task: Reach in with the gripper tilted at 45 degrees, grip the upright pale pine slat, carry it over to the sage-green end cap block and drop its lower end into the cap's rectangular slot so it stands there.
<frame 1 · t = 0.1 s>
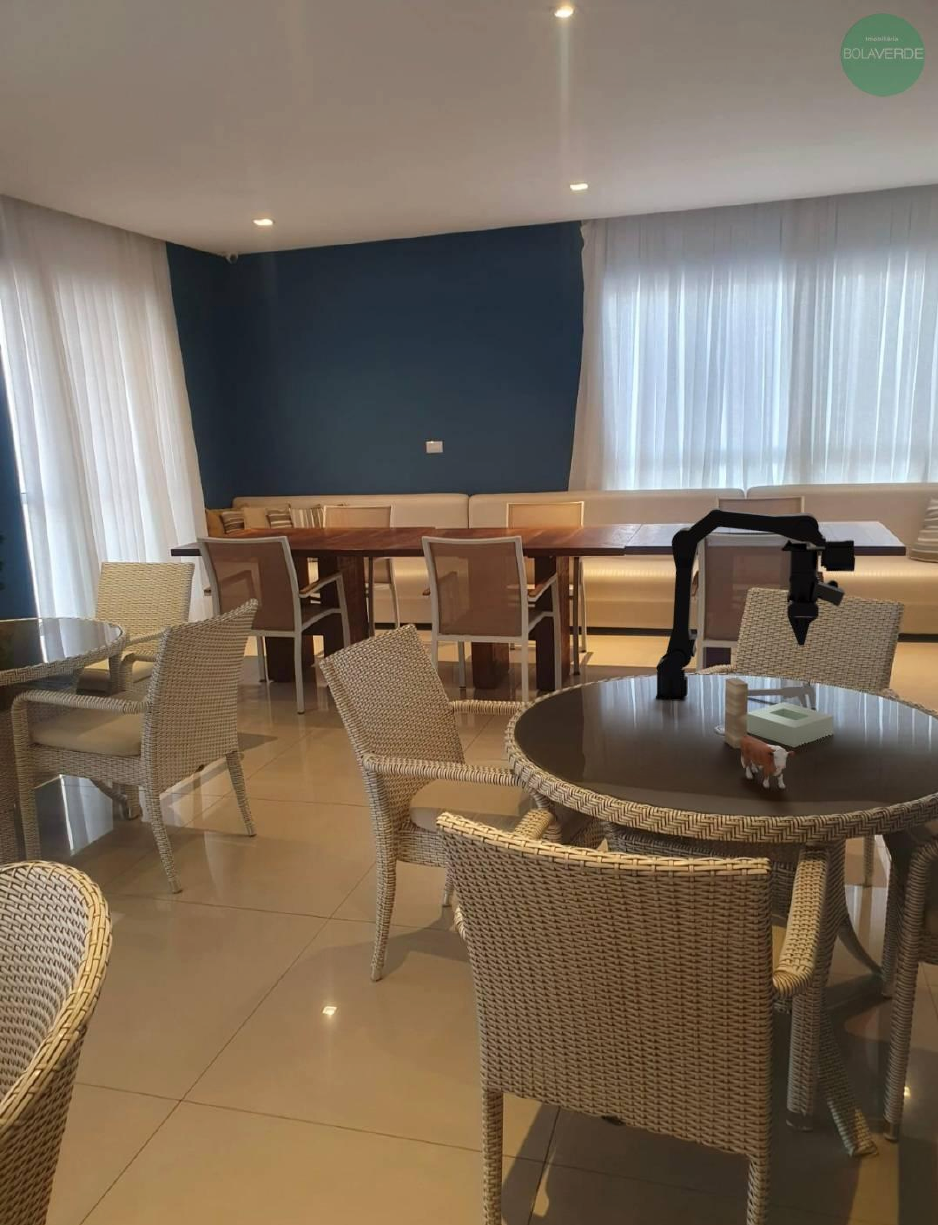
hand: (801, 640, 194), 15 cm above the table, tool pointing down, fingers open, 9 cm apart
bull figurine: (765, 784, 154), on the table
slat: (735, 744, 173), on the table
end cap: (788, 733, 178), on the table
caliper: (769, 702, 200), on the table
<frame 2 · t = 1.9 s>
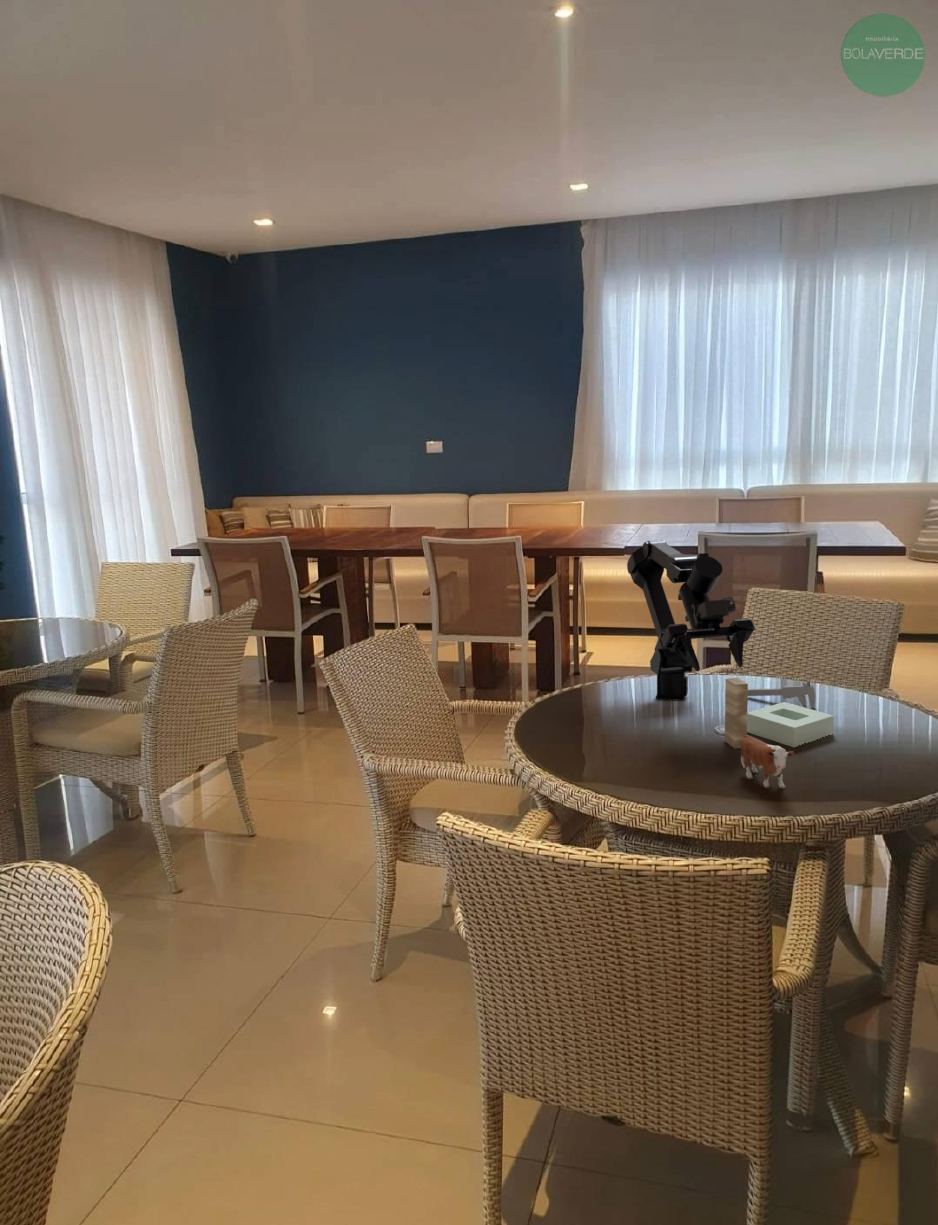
hand: (719, 668, 179), 13 cm above the table, tool tilted 45°, fingers open, 9 cm apart
nothing on the table moved.
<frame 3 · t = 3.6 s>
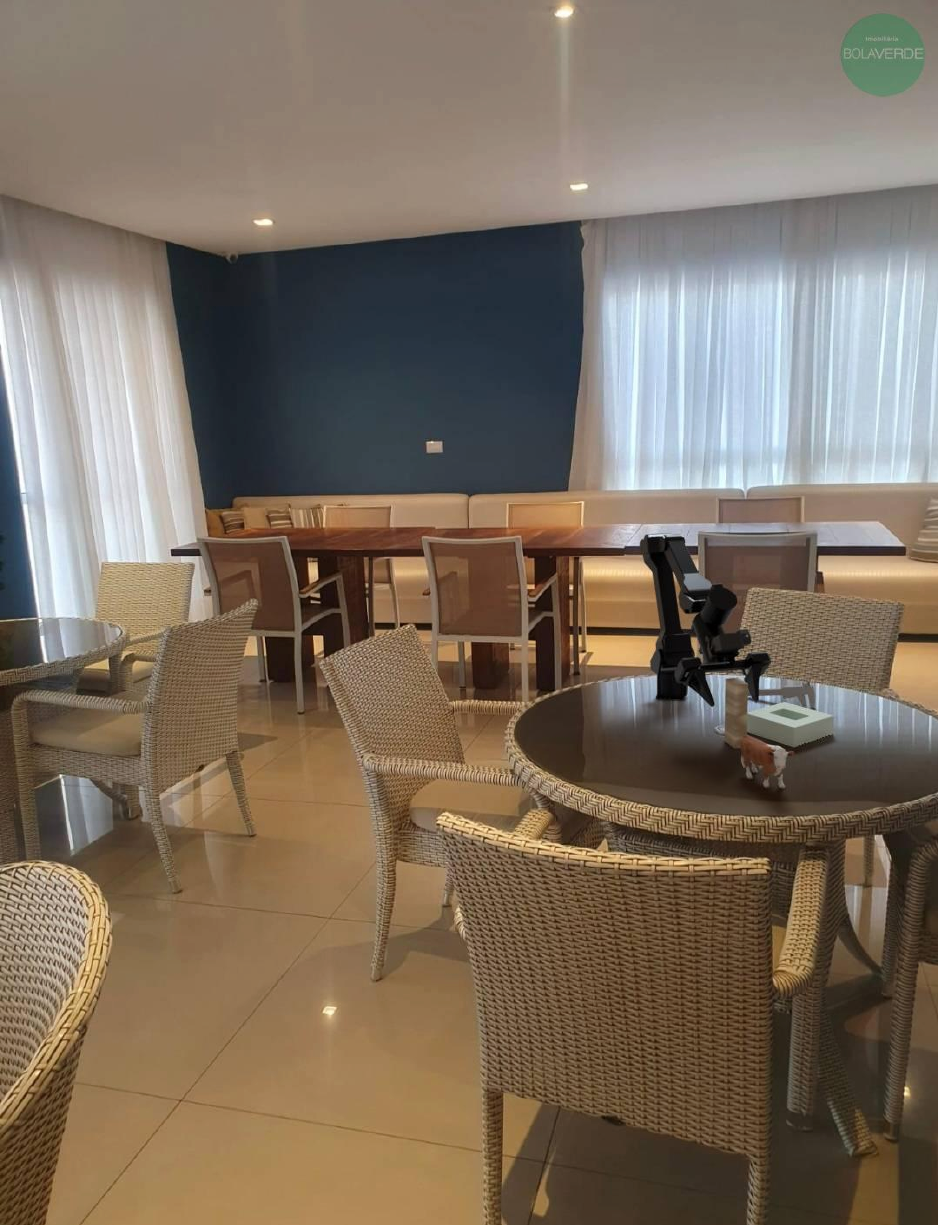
hand: (735, 703, 172), 8 cm above the table, tool tilted 45°, fingers open, 9 cm apart
nothing on the table moved.
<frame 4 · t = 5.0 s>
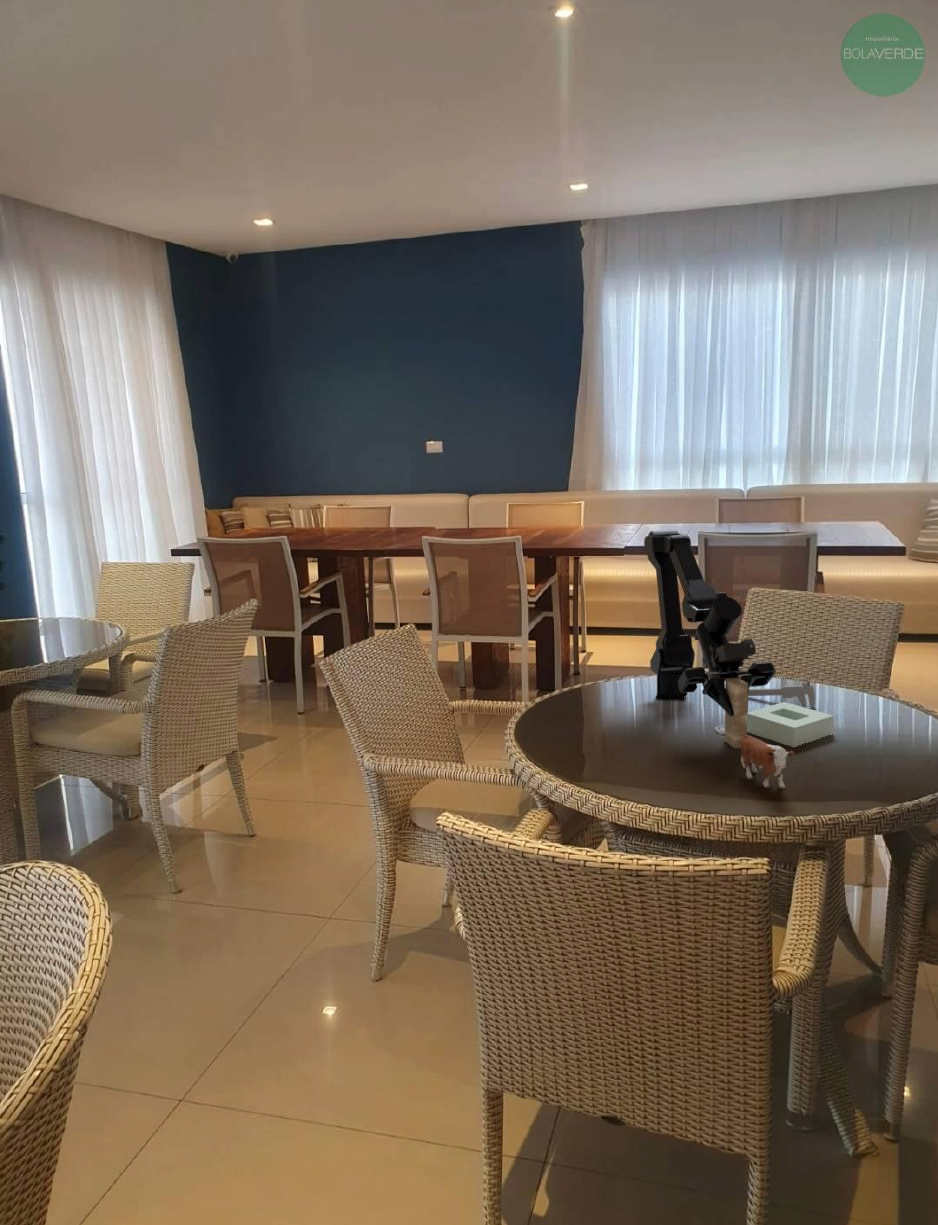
hand: (739, 714, 171), 7 cm above the table, tool tilted 45°, fingers closed on slat, 2 cm apart
slat: (735, 744, 173), on the table, touching gripper
everything else where it was.
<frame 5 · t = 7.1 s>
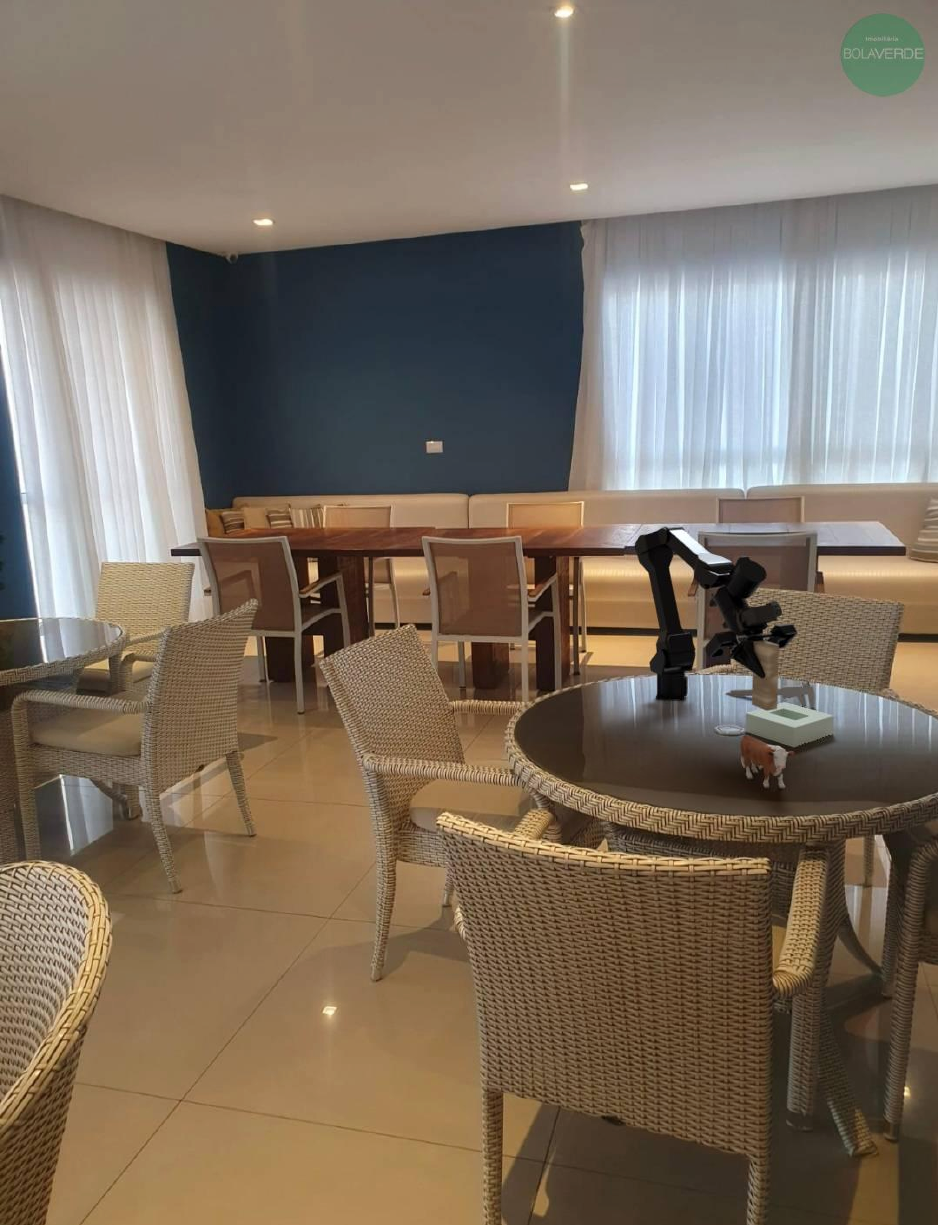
hand: (769, 676, 171), 13 cm above the table, tool tilted 45°, fingers closed on slat, 2 cm apart
slat: (764, 706, 174), point 7 cm above the table, touching gripper
everything else where it was.
when the fingers open (9 cm above the table, at t = 9.0 s): slat drops 1 cm, resting on end cap.
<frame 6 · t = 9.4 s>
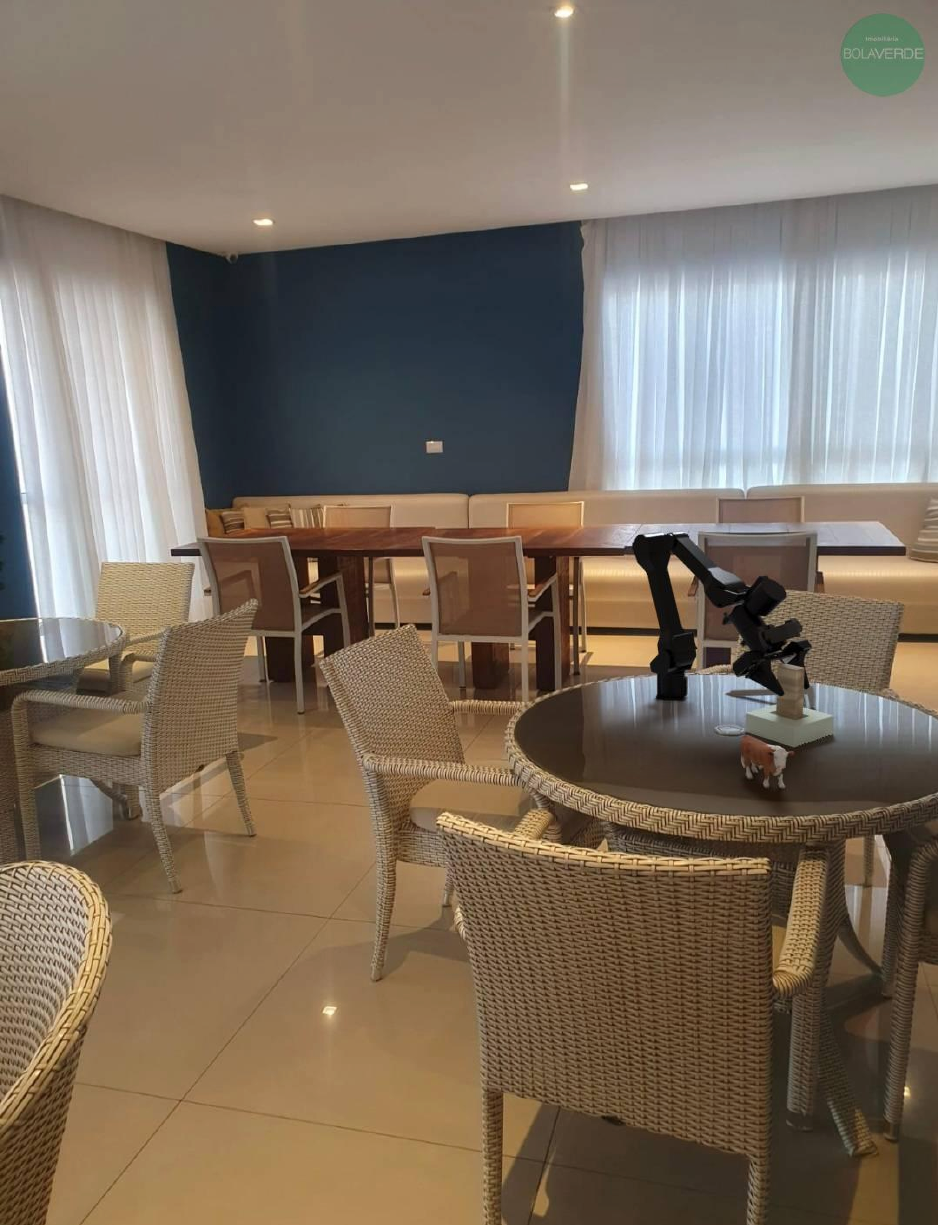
hand: (795, 691, 175), 9 cm above the table, tool tilted 45°, fingers open, 7 cm apart
slat: (788, 728, 178), point 1 cm above the table, touching end cap
everything else where it was.
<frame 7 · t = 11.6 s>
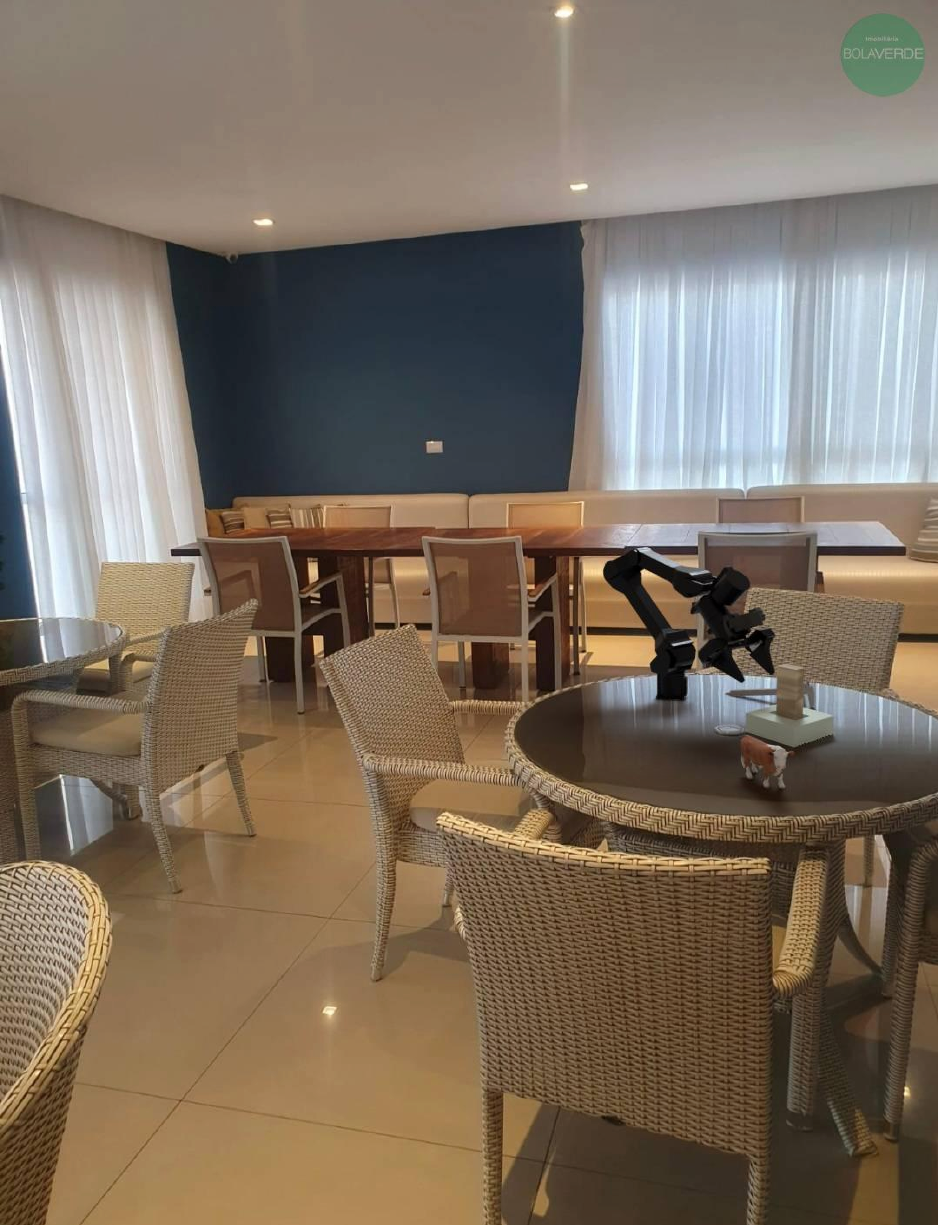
hand: (758, 678, 183), 10 cm above the table, tool tilted 45°, fingers open, 9 cm apart
nothing on the table moved.
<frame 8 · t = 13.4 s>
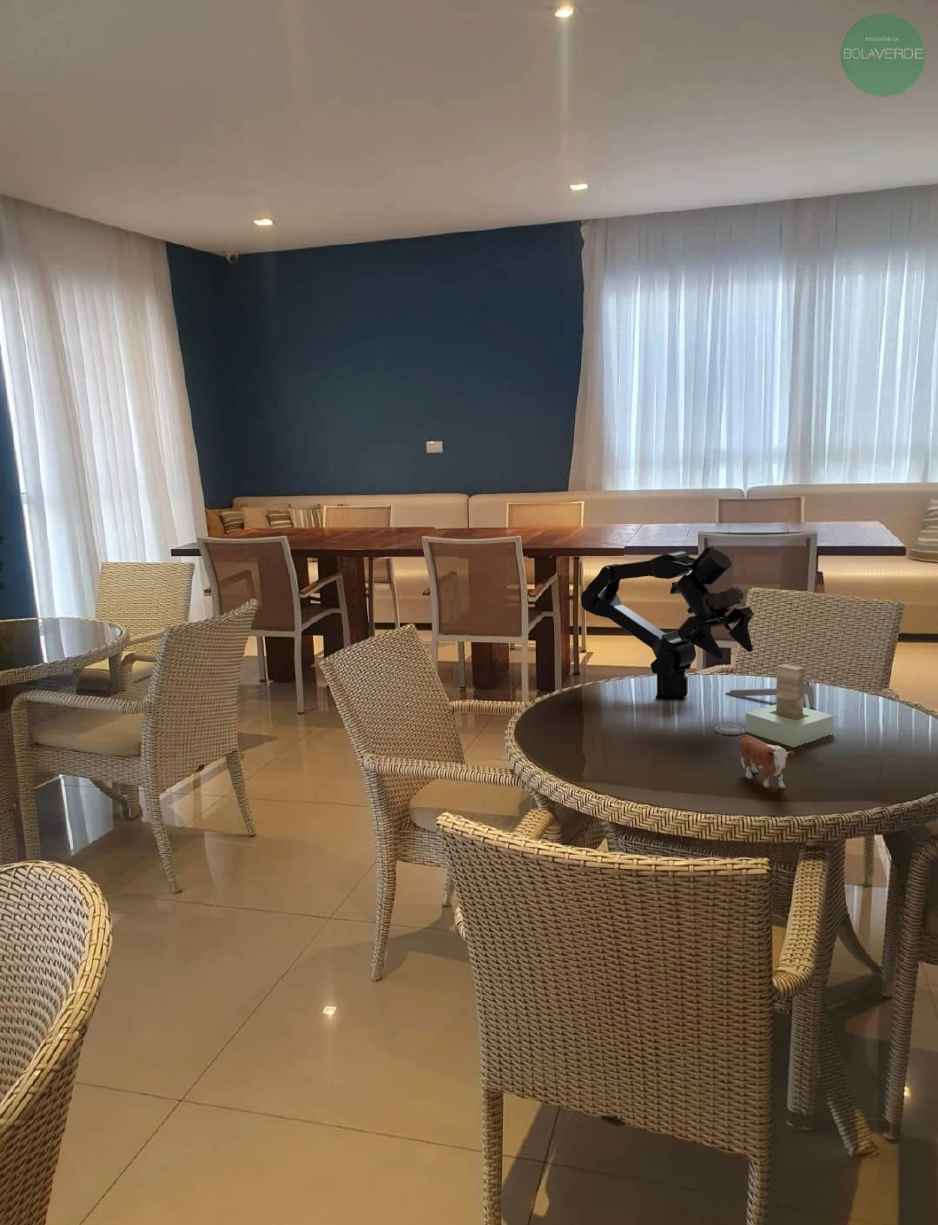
hand: (736, 654, 189), 14 cm above the table, tool tilted 45°, fingers open, 9 cm apart
nothing on the table moved.
at the end: slat 0.0 cm off-centre on the end cap, point 1.0 cm above the end cap's base; slat tilted 0°; the gripper is holding nothing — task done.
